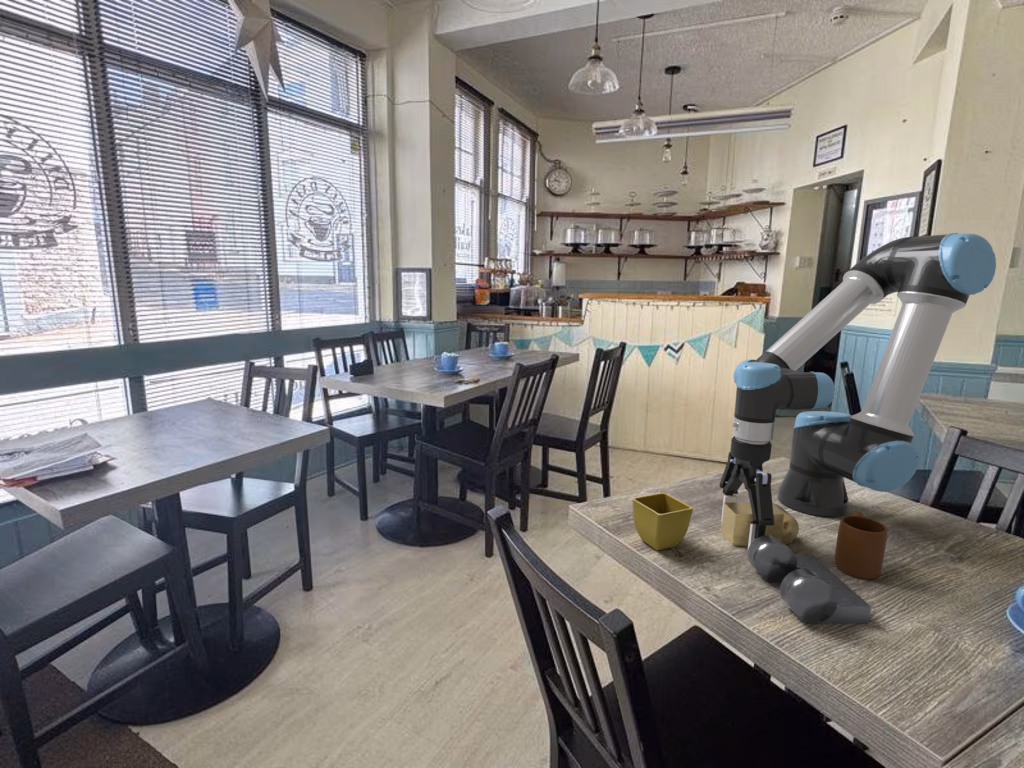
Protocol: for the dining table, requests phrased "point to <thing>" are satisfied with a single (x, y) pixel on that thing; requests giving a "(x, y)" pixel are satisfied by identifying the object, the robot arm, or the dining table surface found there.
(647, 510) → the flower pot
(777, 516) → the brass curved block
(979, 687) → the dining table surface
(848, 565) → the mug
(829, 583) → the hinge base leaf
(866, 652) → the dining table surface
